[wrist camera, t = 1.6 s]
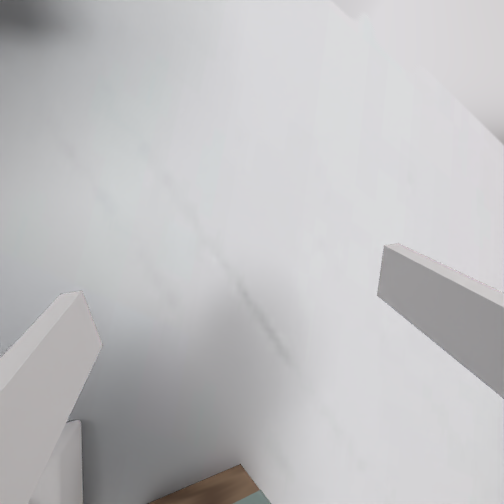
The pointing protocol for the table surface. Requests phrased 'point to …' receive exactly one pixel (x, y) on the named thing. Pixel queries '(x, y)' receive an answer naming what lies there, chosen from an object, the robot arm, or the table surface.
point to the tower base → (214, 489)
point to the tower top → (254, 499)
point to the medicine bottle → (62, 470)
